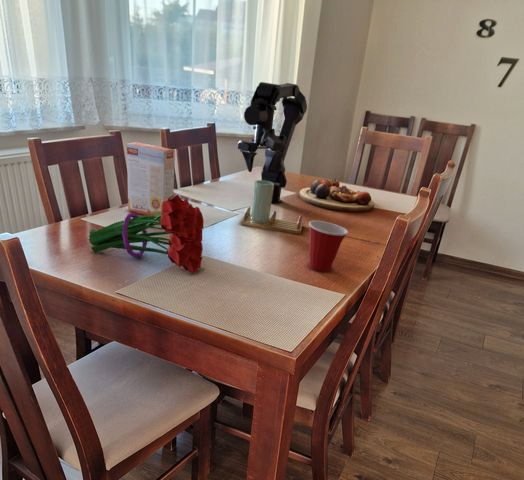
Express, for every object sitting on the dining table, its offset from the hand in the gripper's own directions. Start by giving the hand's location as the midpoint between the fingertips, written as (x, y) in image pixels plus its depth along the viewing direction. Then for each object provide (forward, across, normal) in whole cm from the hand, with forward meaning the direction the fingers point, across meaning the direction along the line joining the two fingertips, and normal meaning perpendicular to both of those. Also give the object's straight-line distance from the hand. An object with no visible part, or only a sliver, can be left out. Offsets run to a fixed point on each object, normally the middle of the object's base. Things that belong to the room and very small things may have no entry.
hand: (258, 171), depth 173 cm
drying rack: (+13, -10, -18) cm, 25 cm away
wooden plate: (+13, +42, -8) cm, 45 cm away
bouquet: (+14, -66, -24) cm, 71 cm away
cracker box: (+14, -41, +8) cm, 44 cm away
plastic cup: (+14, -27, -52) cm, 60 cm away
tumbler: (+12, -13, -15) cm, 23 cm away
